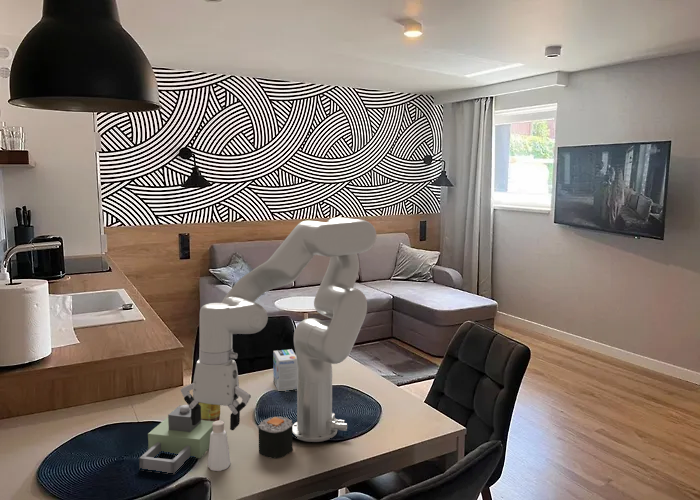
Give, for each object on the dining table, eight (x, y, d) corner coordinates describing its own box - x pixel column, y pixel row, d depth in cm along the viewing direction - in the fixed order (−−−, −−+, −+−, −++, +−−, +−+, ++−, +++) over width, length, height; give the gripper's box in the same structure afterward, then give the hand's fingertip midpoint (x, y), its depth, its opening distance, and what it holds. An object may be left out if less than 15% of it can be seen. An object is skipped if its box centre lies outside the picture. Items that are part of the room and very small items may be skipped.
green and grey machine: (217, 439, 146) (216, 403, 145) (184, 475, 129) (182, 434, 127) (169, 434, 149) (167, 398, 147) (130, 468, 131) (128, 428, 130)
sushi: (253, 453, 139) (252, 423, 138) (273, 439, 147) (273, 411, 145) (278, 462, 135) (278, 431, 134) (298, 447, 142) (298, 418, 141)
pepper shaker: (218, 457, 137) (218, 415, 135) (235, 463, 134) (234, 420, 133) (202, 467, 132) (201, 424, 131) (219, 473, 130) (218, 429, 128)
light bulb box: (272, 380, 188) (272, 350, 186) (292, 378, 190) (292, 348, 188) (278, 392, 178) (278, 360, 176) (298, 390, 180) (298, 358, 178)
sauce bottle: (214, 426, 153) (213, 358, 151) (193, 424, 155) (192, 356, 152) (224, 416, 160) (223, 350, 157) (204, 414, 161) (202, 349, 158)
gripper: (256, 354, 131) (255, 423, 133) (189, 348, 135) (189, 415, 137) (244, 364, 124) (243, 436, 126) (173, 357, 127) (173, 427, 129)
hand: (215, 425), depth 131 cm, fingers open, 9 cm apart
